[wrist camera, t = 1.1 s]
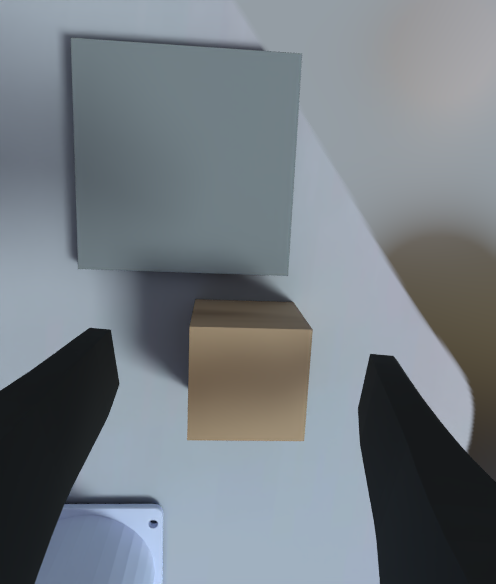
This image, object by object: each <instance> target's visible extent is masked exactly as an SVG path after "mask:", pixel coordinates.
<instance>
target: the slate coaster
mask: <svg viewBox="0 0 496 584" xmlns="http://www.w3.org/2000/svg"><path fill="white" fill-rule="evenodd" d="M71 61H72V92H73V123H74V155H75V186H76V217H77V248H78V269H95V270H126V271H156V272H186V273H216V274H247V275H277V276H288V267H289V252H290V236H291V220H292V204H293V189H294V173H295V157H296V142H297V126H298V110H299V95H300V78H301V61H302V54H300V53H286V52H285V53H284V52H271V51H257V50H242V49H228V48H213V47H199V46H184V45H170V44H155V43H141V42H126V41H112V40H98V39H83V38H71Z"/></svg>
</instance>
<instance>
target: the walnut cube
mask: <svg viewBox="0 0 496 584" xmlns="http://www.w3.org/2000/svg"><path fill="white" fill-rule="evenodd" d="M311 343H312V328H311V327H310V325H309V324H308V322H307V321H306V320H305V318H304V317H303V315H302V314H301V312H300V311H299V310H298V308H297V307H296V305H295V304H294V302H274V301H240V300H205V299H195V304H194V308H193V313H192V317H191V322H190V328H189V380H188V432H187V440H228V441H304V435H305V422H306V408H307V395H308V382H309V369H310V356H311Z"/></svg>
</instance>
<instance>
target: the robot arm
mask: <svg viewBox="0 0 496 584" xmlns="http://www.w3.org/2000/svg"><path fill="white" fill-rule="evenodd" d="M118 386H119V379H118V372H117V366H116V360H115V354H114V347H113V341H112V335H111V330H107V329H97V328H89V329H87V330H86V331H85V332H83V333H82V334H80V335H79V336H78V337H76V338H75V339H73V340H72V341H71V342H69V343H68V344H67V345H65V346H64V347H63V348H61V349H60V350H59V351H57V352H56V353H55V354H53V355H52V356H50V357H49V358H48V359H46V360H45V361H43V362H42V363H41V364H39V365H38V366H37V367H35V368H34V369H32V370H31V371H30V372H28V373H27V374H25V375H23V376H22V377H20V378H19V379H17V380H16V381H14V382H13V383H11V384H10V385H8V386H7V387H5V388H4V389H2V390H1V391H0V584H163V509H162V507H161V506H159V505H158V504H65V501H66V499H67V497H68V495H69V493H70V491H71V488H72V486H73V484H74V482H75V480H76V478H77V476H78V474H79V473H80V471H81V469H82V467H83V465H84V463H85V461H86V459H87V457H88V455H89V453H90V451H91V449H92V447H93V445H94V443H95V441H96V439H97V437H98V435H99V433H100V431H101V429H102V427H103V425H104V423H105V421H106V419H107V417H108V415H109V412H110V410H111V407H112V404H113V401H114V398H115V395H116V392H117V389H118ZM358 416H359V435H360V446H361V452H362V457H363V463H364V469H365V474H366V480H367V486H368V491H369V497H370V502H371V508H372V513H373V519H374V525H375V532H376V540H377V551H378V564H379V576H380V584H496V482H495V481H494V480H493V479H492V478H491V477H490V476H489V475H488V474H487V473H486V472H485V471H484V470H483V469H482V468H481V467H480V466H479V465H478V464H477V463H476V462H475V461H474V460H473V459H472V458H471V457H470V456H469V455H468V454H467V452H466V451H465V450H464V449H463V448H462V447H461V446H460V444H459V443H458V442H457V441H456V440H455V439H454V437H453V436H452V435H451V434H450V433H449V432H448V430H447V429H446V428H445V427H444V425H443V424H442V423H441V422H440V420H439V419H438V418H437V416H436V415H435V414H434V412H433V411H432V410H431V409H430V407H429V406H428V405H427V403H426V402H425V401H424V399H423V398H422V396H421V395H420V394H419V392H418V391H417V389H416V388H415V387H414V385H413V384H412V382H411V381H410V379H409V378H408V376H407V375H406V373H405V372H404V370H403V369H402V367H401V366H400V364H399V363H398V361H397V360H396V359H395V357H394V356H387V355H376V354H370V357H369V362H368V366H367V371H366V375H365V380H364V384H363V389H362V393H361V398H360V402H359V407H358ZM151 520H156V521H157V523H151V522H150V521H151Z"/></svg>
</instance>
